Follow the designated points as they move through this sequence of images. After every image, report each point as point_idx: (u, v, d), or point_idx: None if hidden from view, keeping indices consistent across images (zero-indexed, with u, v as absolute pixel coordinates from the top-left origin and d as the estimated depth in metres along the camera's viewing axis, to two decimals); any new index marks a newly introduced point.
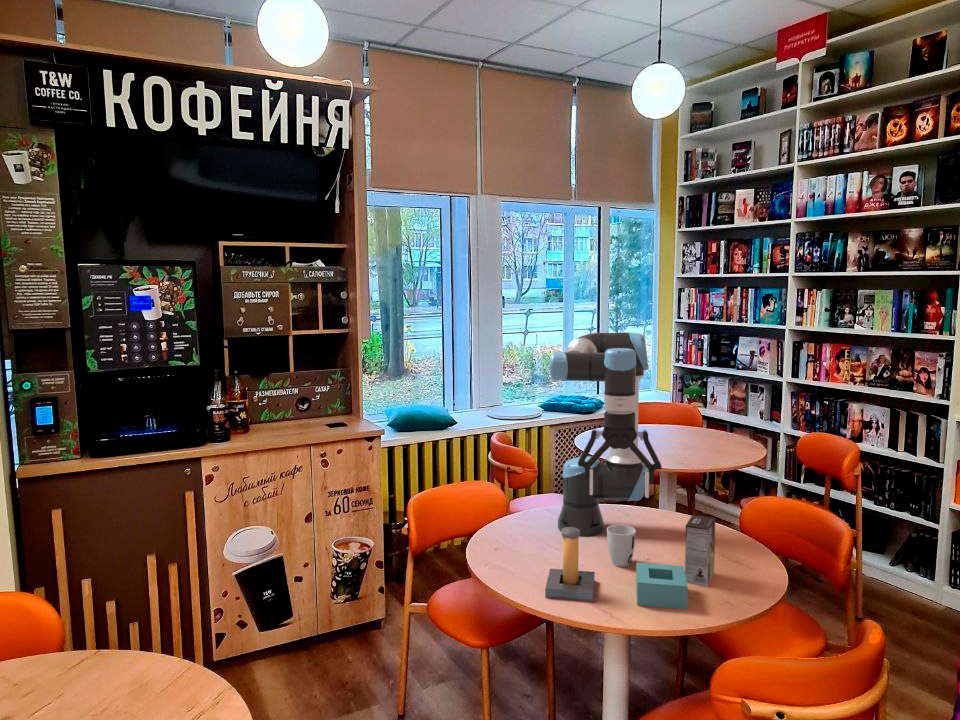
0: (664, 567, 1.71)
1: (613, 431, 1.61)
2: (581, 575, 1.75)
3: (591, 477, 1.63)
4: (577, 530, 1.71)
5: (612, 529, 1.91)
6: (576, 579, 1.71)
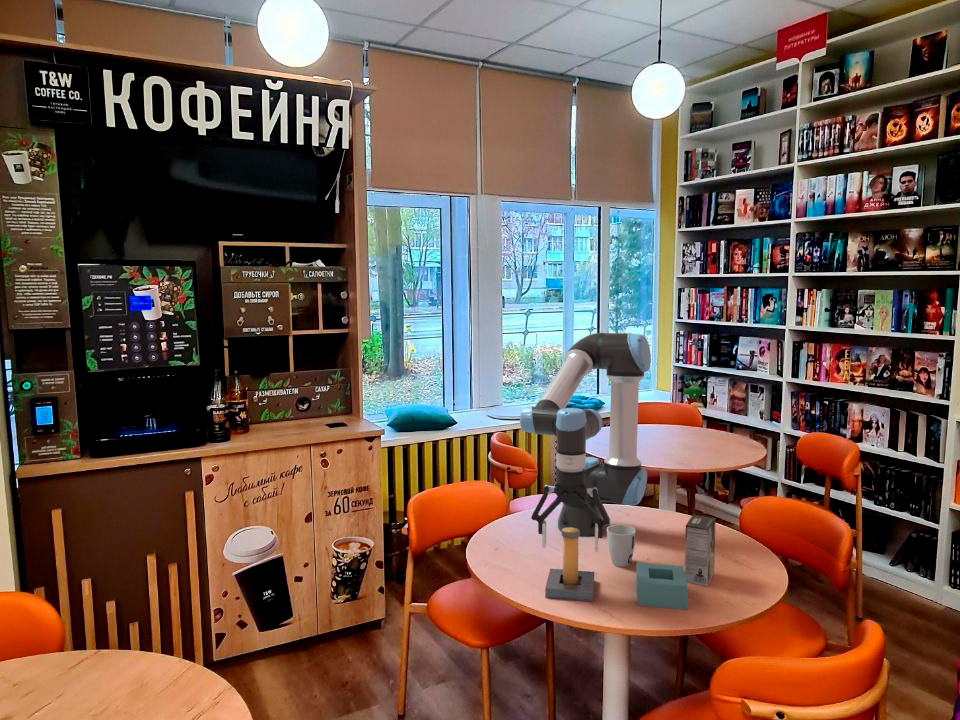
0: (664, 567, 1.71)
1: (564, 487, 1.69)
2: (581, 575, 1.75)
3: (544, 531, 1.71)
4: (577, 530, 1.71)
5: (612, 529, 1.91)
6: (576, 579, 1.71)
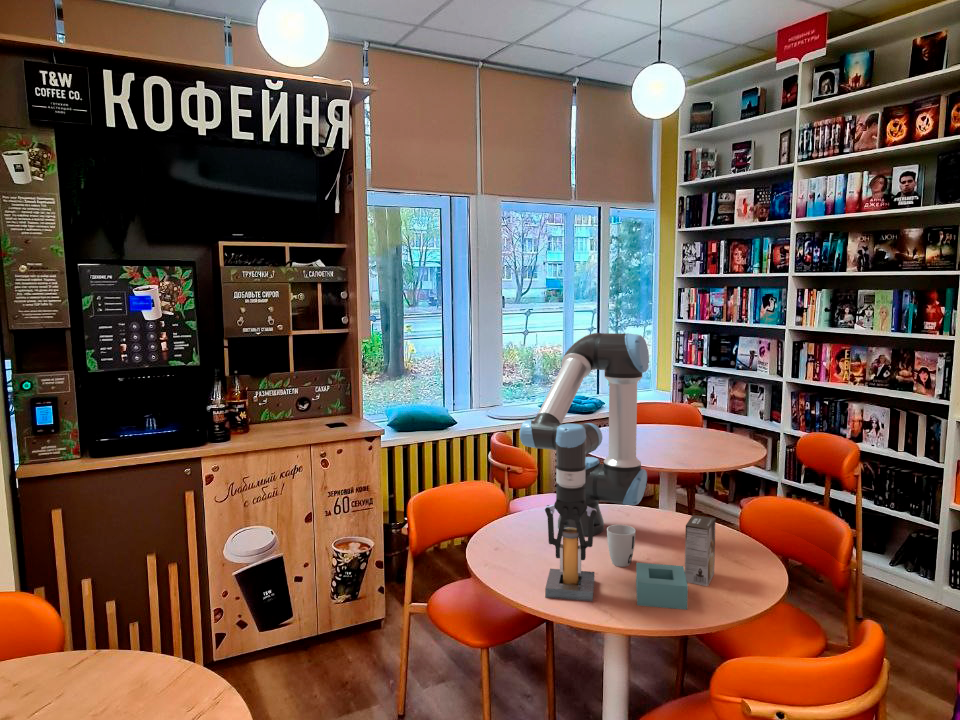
0: (664, 567, 1.71)
1: (562, 500, 1.70)
2: (581, 575, 1.75)
3: (561, 555, 1.71)
4: None
5: (612, 529, 1.91)
6: (576, 579, 1.71)
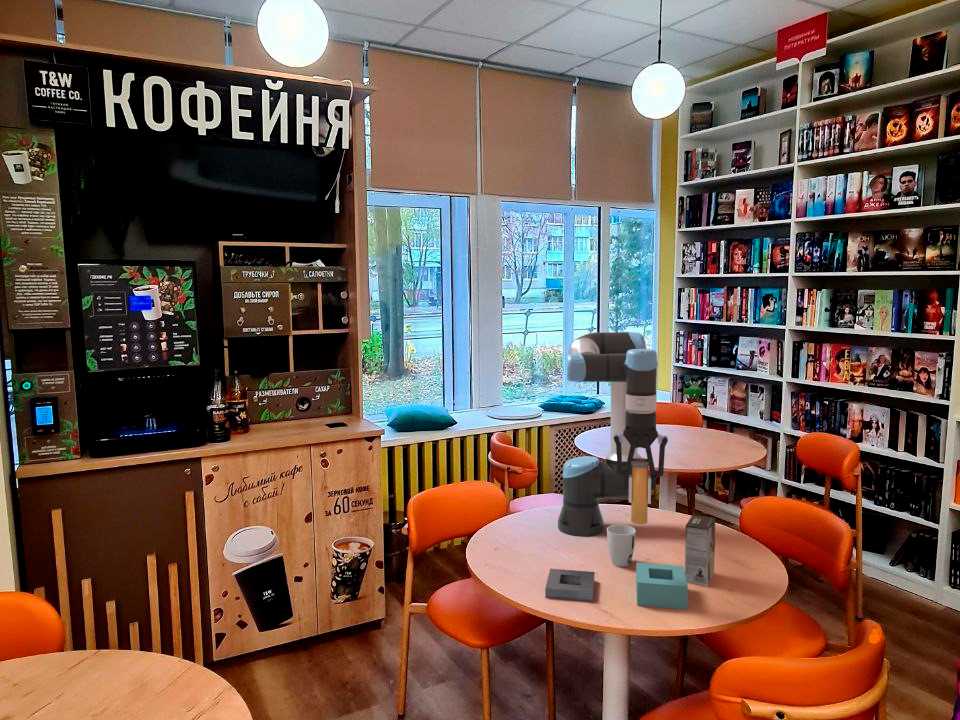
0: (664, 567, 1.71)
1: (632, 428, 1.64)
2: (581, 575, 1.75)
3: (630, 485, 1.65)
4: (647, 460, 1.65)
5: (612, 529, 1.91)
6: (645, 510, 1.65)
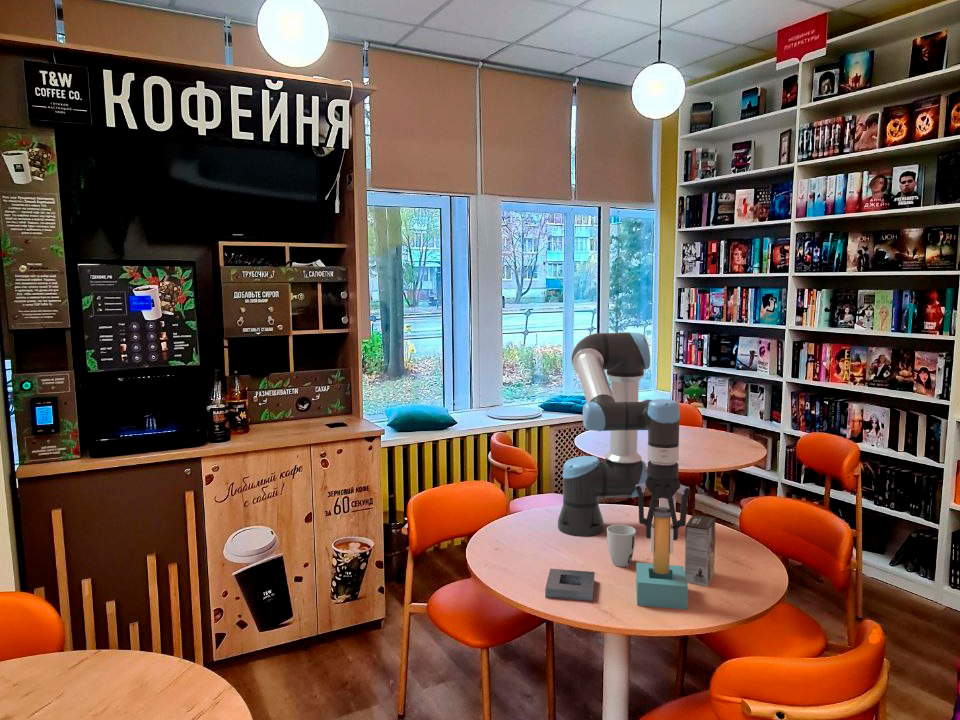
0: None
1: (654, 478, 1.64)
2: (581, 575, 1.75)
3: (652, 535, 1.65)
4: (669, 510, 1.65)
5: (612, 529, 1.91)
6: (668, 560, 1.65)
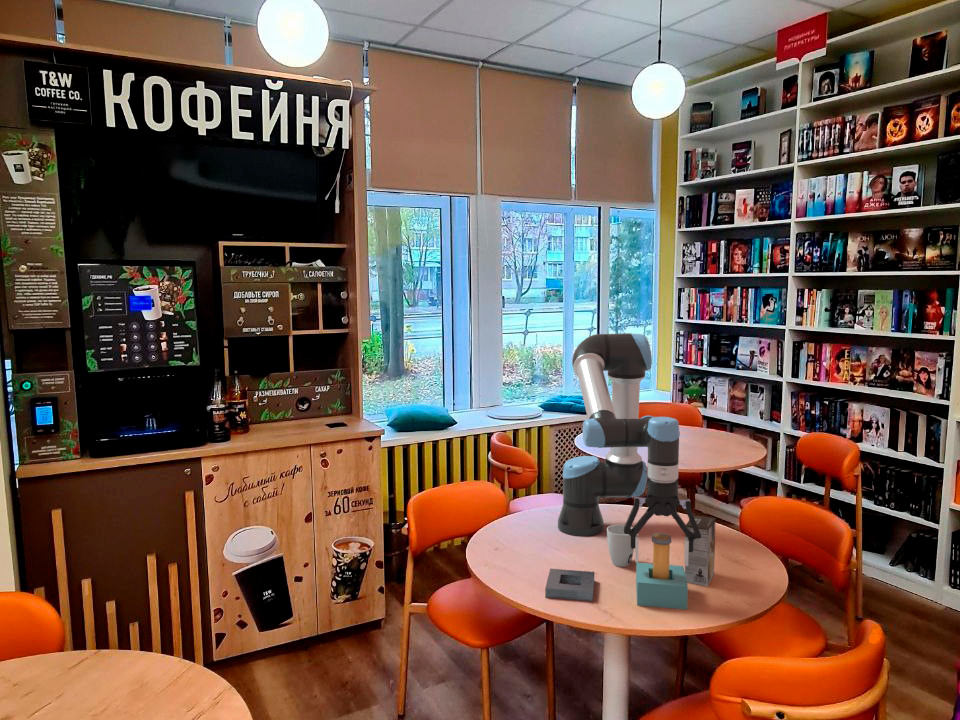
0: None
1: (656, 498, 1.64)
2: (581, 575, 1.75)
3: (637, 545, 1.66)
4: (668, 536, 1.66)
5: (612, 529, 1.91)
6: None
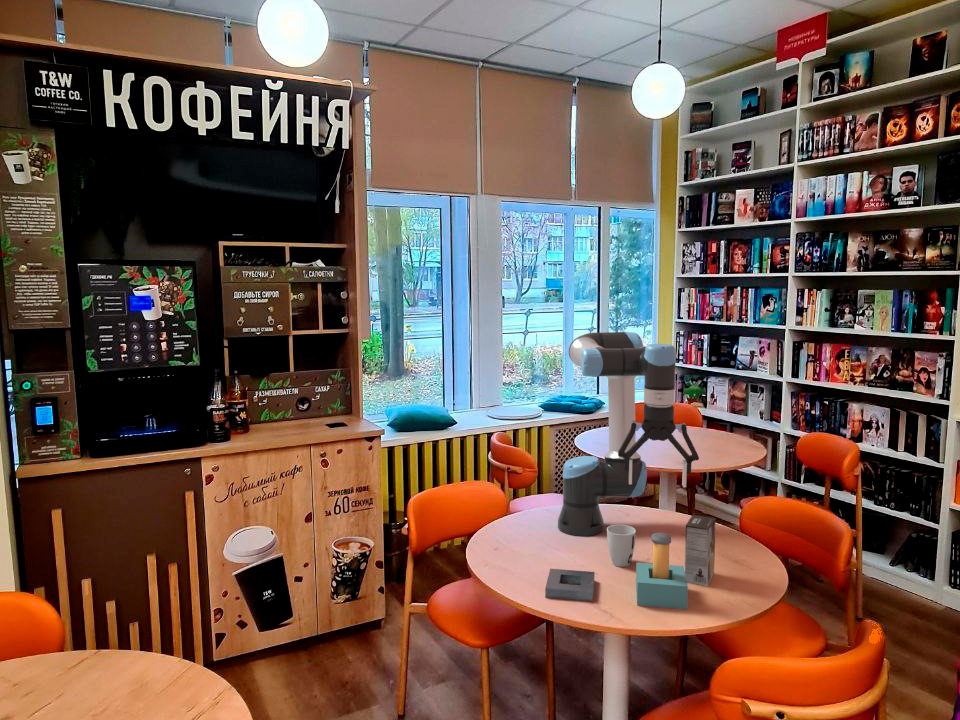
0: None
1: (652, 423, 1.68)
2: (581, 575, 1.75)
3: (630, 467, 1.70)
4: (668, 536, 1.66)
5: (612, 529, 1.91)
6: None
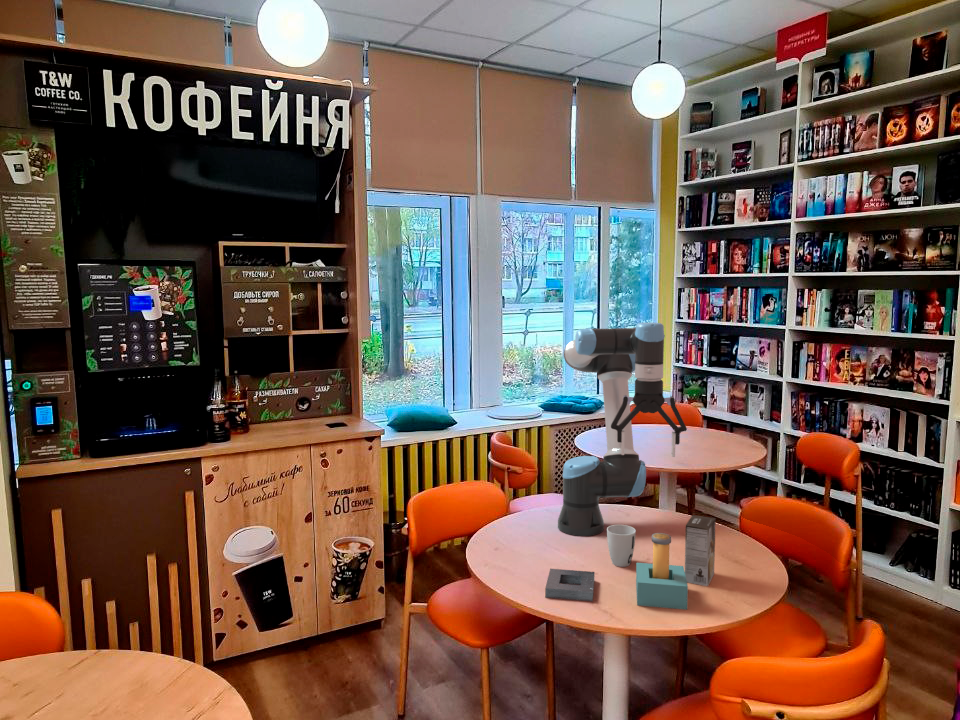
0: None
1: (643, 397, 1.79)
2: (581, 575, 1.75)
3: (623, 439, 1.81)
4: (668, 536, 1.66)
5: (612, 529, 1.91)
6: None
